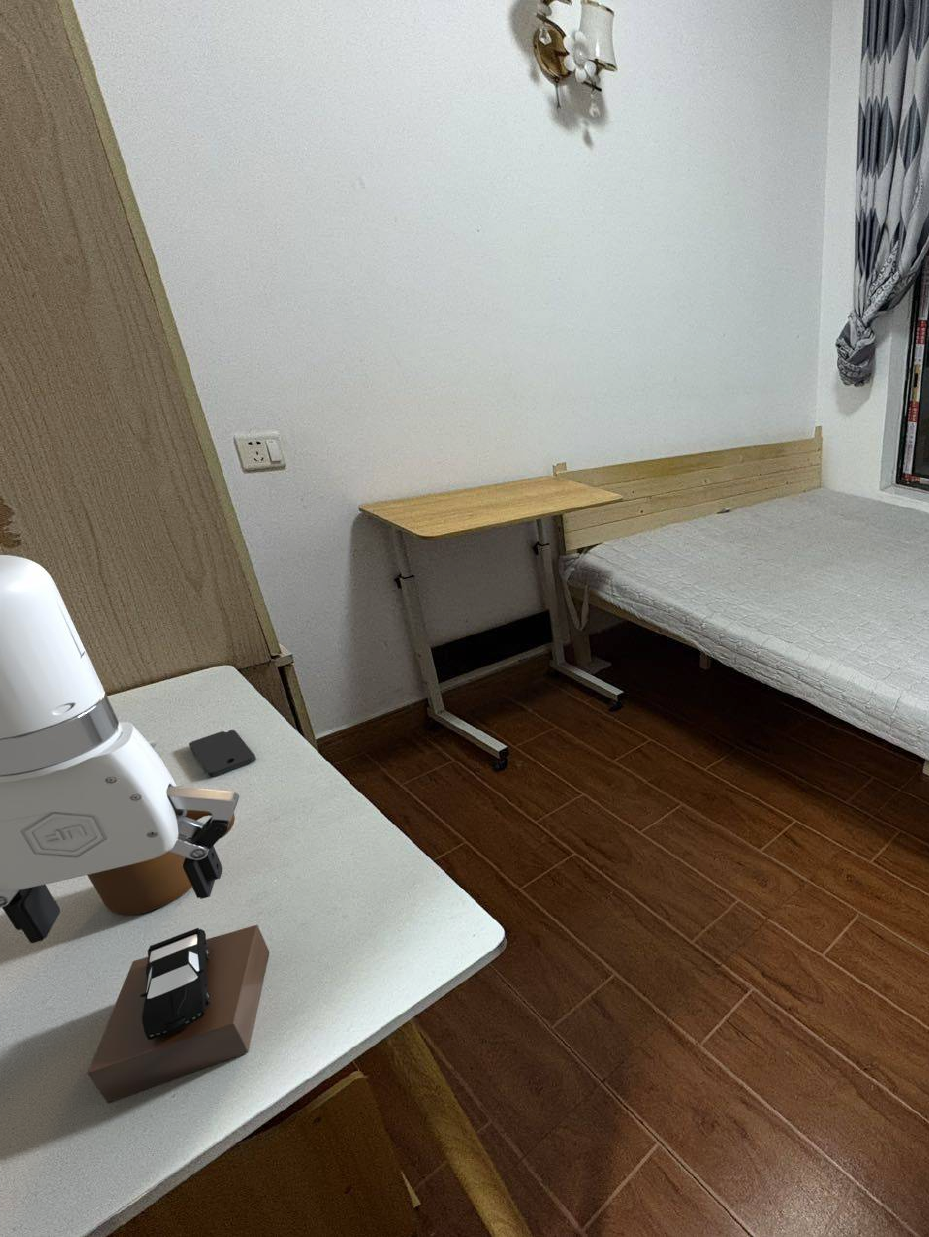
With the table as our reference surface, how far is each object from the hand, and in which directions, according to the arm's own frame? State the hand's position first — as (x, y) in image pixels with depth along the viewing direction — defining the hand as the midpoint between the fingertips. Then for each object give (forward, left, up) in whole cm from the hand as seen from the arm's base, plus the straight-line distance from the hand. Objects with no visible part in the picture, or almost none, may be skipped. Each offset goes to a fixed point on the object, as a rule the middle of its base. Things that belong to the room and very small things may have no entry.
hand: (131, 905), depth 54 cm
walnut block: (0, 0, -14) cm, 14 cm away
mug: (-5, +20, -15) cm, 25 cm away
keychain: (-6, +45, -14) cm, 48 cm away
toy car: (0, 0, -11) cm, 11 cm away
